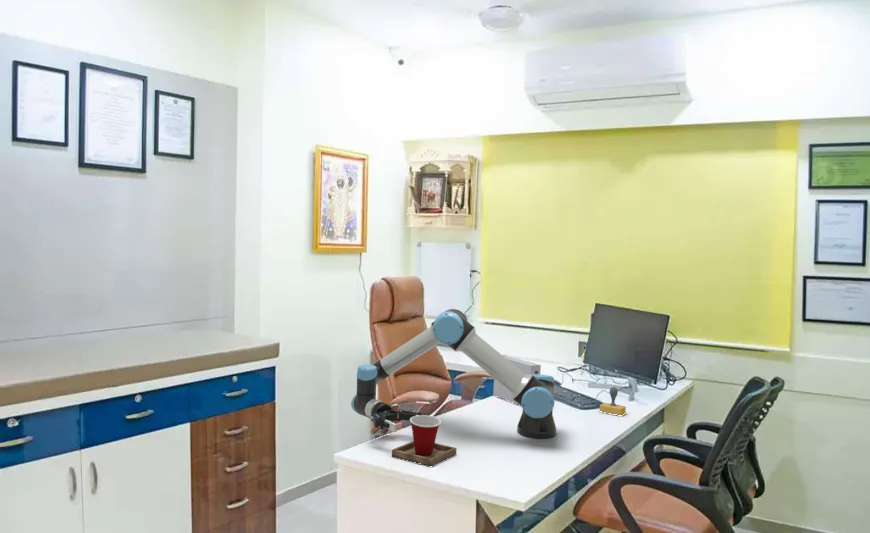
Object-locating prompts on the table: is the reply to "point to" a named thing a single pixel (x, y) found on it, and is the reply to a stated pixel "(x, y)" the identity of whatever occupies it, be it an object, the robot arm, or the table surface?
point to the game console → (521, 365)
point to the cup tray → (437, 456)
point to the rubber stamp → (613, 404)
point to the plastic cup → (424, 433)
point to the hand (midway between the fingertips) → (411, 425)
